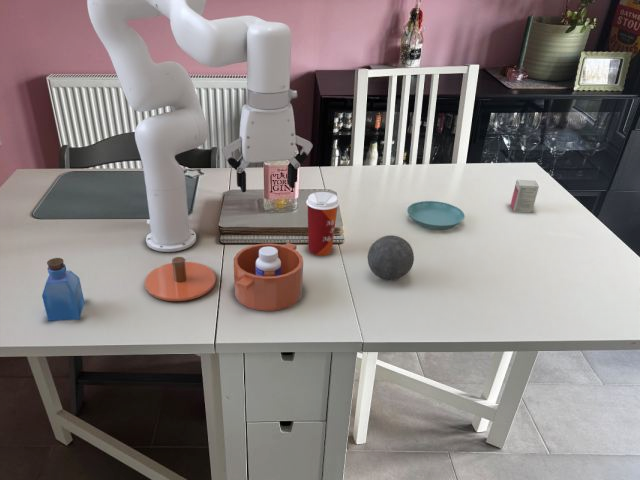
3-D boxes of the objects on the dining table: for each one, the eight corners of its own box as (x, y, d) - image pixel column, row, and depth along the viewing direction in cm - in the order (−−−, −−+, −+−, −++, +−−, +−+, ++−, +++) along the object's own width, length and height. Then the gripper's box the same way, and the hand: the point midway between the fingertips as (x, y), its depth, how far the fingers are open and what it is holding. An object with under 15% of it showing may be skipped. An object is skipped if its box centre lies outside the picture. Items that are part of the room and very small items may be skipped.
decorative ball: (402, 293, 123) (409, 253, 117) (359, 281, 127) (363, 242, 122) (416, 272, 130) (422, 233, 125) (374, 262, 134) (378, 224, 129)
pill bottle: (264, 299, 121) (264, 259, 115) (251, 287, 124) (250, 249, 119) (285, 291, 123) (286, 252, 118) (271, 280, 127) (272, 242, 122)
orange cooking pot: (214, 303, 120) (212, 271, 116) (264, 263, 134) (264, 232, 130) (272, 325, 114) (272, 292, 109) (319, 280, 128) (321, 249, 123)
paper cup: (334, 259, 135) (338, 205, 128) (302, 256, 137) (304, 202, 129) (337, 244, 142) (340, 191, 134) (306, 241, 143) (308, 189, 136)
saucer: (401, 228, 149) (402, 219, 147) (410, 206, 160) (412, 197, 159) (460, 238, 144) (462, 228, 142) (465, 214, 155) (467, 205, 154)
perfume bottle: (54, 303, 121) (42, 254, 114) (84, 302, 121) (74, 253, 115) (48, 321, 116) (35, 270, 109) (79, 319, 116) (68, 268, 110)
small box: (528, 206, 159) (535, 180, 155) (532, 213, 156) (539, 186, 151) (509, 205, 160) (516, 179, 156) (512, 211, 156) (519, 185, 152)
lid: (130, 289, 125) (127, 265, 122) (176, 259, 136) (174, 236, 133) (185, 311, 118) (183, 286, 115) (229, 278, 129) (228, 254, 126)
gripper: (308, 90, 106) (304, 176, 116) (217, 95, 103) (220, 183, 113) (320, 101, 100) (314, 191, 109) (223, 107, 97) (226, 199, 107)
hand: (267, 187), depth 111 cm, fingers open, 9 cm apart
